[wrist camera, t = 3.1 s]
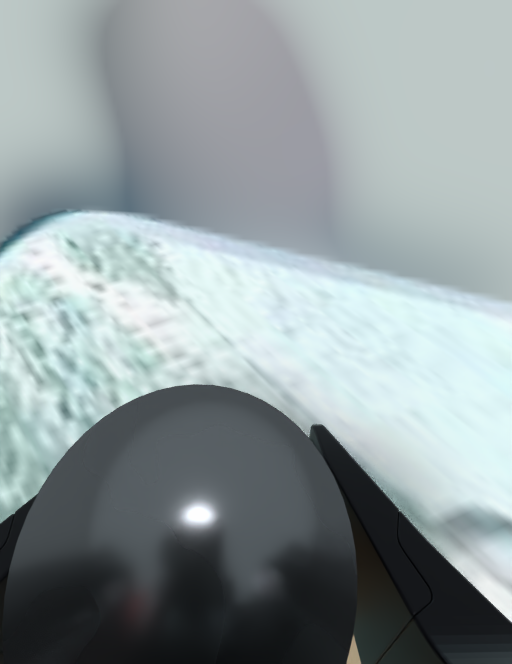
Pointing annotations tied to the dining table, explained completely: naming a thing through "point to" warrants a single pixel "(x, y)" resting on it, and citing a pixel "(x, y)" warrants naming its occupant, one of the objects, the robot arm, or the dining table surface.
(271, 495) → the pin
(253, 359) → the dining table surface
